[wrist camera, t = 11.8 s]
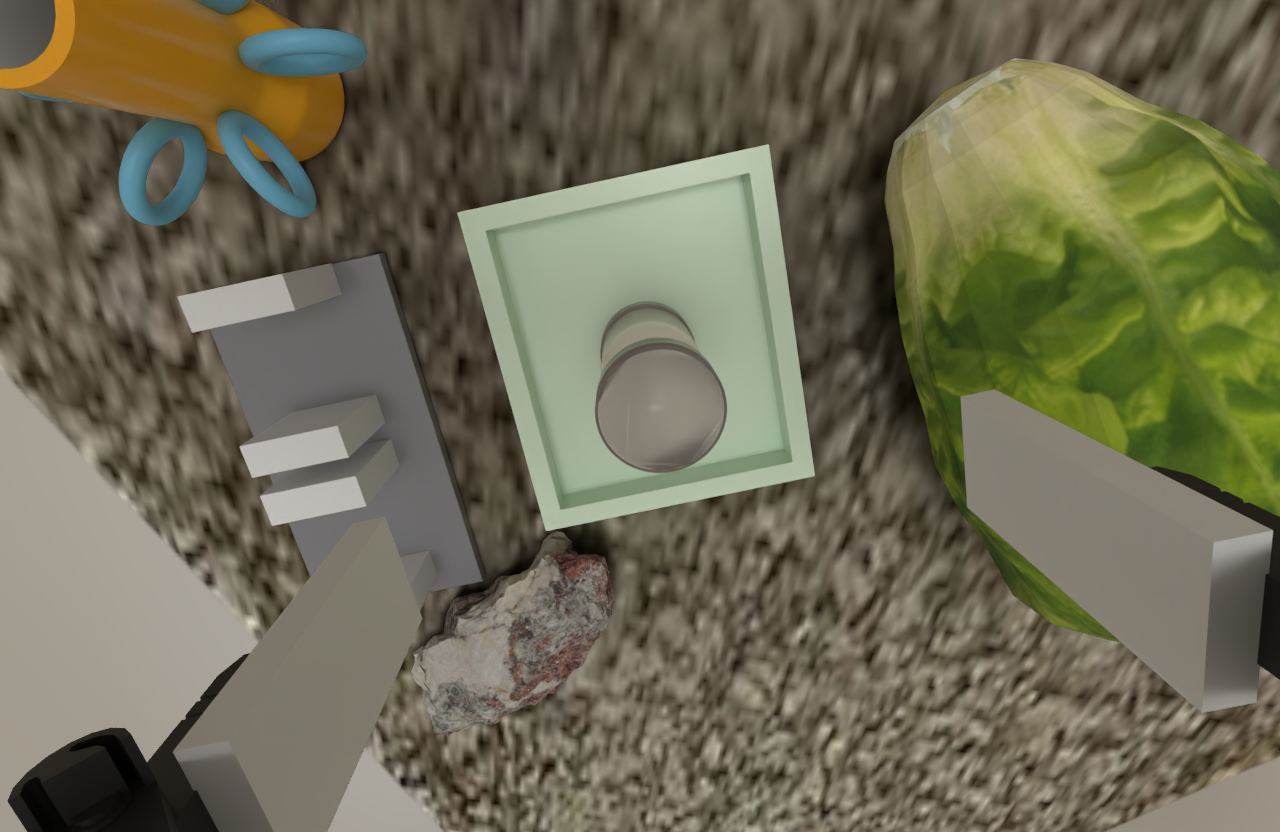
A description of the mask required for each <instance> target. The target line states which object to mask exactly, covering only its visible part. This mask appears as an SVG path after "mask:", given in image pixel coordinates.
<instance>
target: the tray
mask: <svg viewBox="0 0 1280 832" xmlns="http://www.w3.org/2000/svg"><path fill="white" fill-rule="evenodd" d="M457 214H458V217H459V221H460V224H461V228H462V232H463V235H464V239H465V242H466V246H467V249H468V253H469V257H470V260H471V264H472V267H473V271H474V275H475V278H476V282H477V285H478V289H479V293H480V296H481V300H482V303H483V307H484V311H485V314H486V318H487V321H488V325H489V329H490V332H491V336H492V339H493V343H494V347H495V350H496V354H497V357H498V361H499V364H500V368H501V372H502V375H503V379H504V382H505V386H506V390H507V393H508V397H509V400H510V404H511V408H512V411H513V415H514V418H515V422H516V426H517V429H518V433H519V436H520V440H521V444H522V447H523V451H524V454H525V458H526V461H527V465H528V469H529V472H530V476H531V479H532V483H533V487H534V490H535V494H536V497H537V501H538V505H539V508H540V512H541V515H542V519H543V523H544V526H545V530H546V531H550V530H555V529H559V528H564V527H569V526H574V525H579V524H584V523H589V522H594V521H598V520H603V519H608V518H613V517H618V516H623V515H628V514H633V513H637V512H642V511H647V510H652V509H657V508H662V507H667V506H672V505H676V504H681V503H686V502H691V501H696V500H701V499H706V498H711V497H715V496H720V495H725V494H730V493H735V492H740V491H745V490H750V489H754V488H759V487H764V486H769V485H774V484H779V483H784V482H788V481H793V480H798V479H803V478H808V477H813V476H815V473H814V466H813V459H812V452H811V444H810V437H809V430H808V423H807V416H806V409H805V401H804V394H803V387H802V380H801V373H800V366H799V358H798V351H797V344H796V337H795V330H794V322H793V315H792V308H791V301H790V294H789V287H788V279H787V272H786V265H785V258H784V251H783V244H782V236H781V229H780V222H779V215H778V208H777V200H776V193H775V186H774V179H773V172H772V165H771V157H770V150H769V144H768V145H763V146H758V147H754V148H749V149H745V150H740V151H736V152H731V153H727V154H722V155H717V156H713V157H708V158H704V159H699V160H695V161H690V162H685V163H681V164H676V165H672V166H667V167H663V168H658V169H654V170H649V171H644V172H640V173H635V174H631V175H626V176H622V177H617V178H613V179H608V180H603V181H599V182H594V183H590V184H585V185H581V186H576V187H572V188H567V189H562V190H558V191H553V192H549V193H544V194H540V195H535V196H531V197H526V198H521V199H517V200H512V201H508V202H503V203H499V204H494V205H490V206H485V207H480V208H476V209H471V210H467V211H462V212H458V213H457ZM643 301H651V302H657V303H661V304H664V305H666V306H668V307H670V308H672V309H673V310H675V311H676V312H677V313H678V314H679V315H680V316H681V317H682V318H683V319H684V321H685V322H686V324H687V325H688V327H689V329H690V331H691V332H692V335H693V337H694V340H695V343H696V345H697V347H698V349H699V350H700V352H701V354H702V355H703V356H704V357H705V358H706V359H707V360H708V362H709V363H710V364H711V366H712V368H713V369H714V371H715V373H716V374H717V376H718V378H719V379H720V381H721V383H722V386H723V388H724V391H725V395H726V401H727V416H726V422H725V426H724V429H723V432H722V434H721V436H720V438H719V440H718V441H717V443H716V444H715V446H714V447H713V448H712V449H711V451H710V452H709V453H708V454H707V455H706V456H705V457H703V458H702V459H701V460H699V461H698V462H696V463H695V464H693V465H691V466H689V467H687V468H684V469H682V470H678V471H674V472H668V473H651V472H645V471H641V470H638V469H635V468H633V467H631V466H629V465H627V464H625V463H623V462H622V461H620V460H619V459H618V458H617V457H616V456H614V455H613V454H612V453H611V451H610V450H609V449H608V448H607V447H606V445H605V444H604V442H603V440H602V438H601V436H600V434H599V431H598V428H597V425H596V419H595V403H596V393H597V386H598V382H599V379H600V376H601V356H600V351H601V341H602V336H603V332H604V330H605V327H606V326H607V324H608V322H609V321H610V319H611V318H612V317H613V316H614V315H615V314H616V313H617V312H618V311H620V310H621V309H622V308H624V307H626V306H628V305H630V304H633V303H637V302H643Z"/></svg>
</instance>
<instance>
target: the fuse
mask: <svg viewBox="0 0 1280 832" xmlns="http://www.w3.org/2000/svg"><path fill="white" fill-rule="evenodd" d="M600 356H601V376H600V379H599V382H598V386H597V393H596V403H595V419H596V425H597V428H598V431H599V434H600V436H601V438H602V440H603V442H604V444H605V445H606V447H607V448H608V449H609V450H610V451H611V453H612V454H613V455H614V456H616V457H617V458H618V459H619V460H620V461H622V462H623V463H625V464H627V465H629V466H631V467H633V468H635V469H638V470H641V471H645V472H651V473H668V472H674V471H678V470H682V469H684V468H687V467H689V466H691V465H693V464H695V463H696V462H698V461H699V460H701V459H702V458H703V457H705V456H706V455H707V454H708V453H709V452H710V451H711V449H712V448H713V447H714V446H715V444H716V443H717V441H718V440H719V438H720V436H721V434H722V432H723V429H724V426H725V422H726V416H727V401H726V395H725V391H724V388H723V386H722V383H721V381H720V379H719V378H718V376H717V374H716V373H715V371H714V369H713V368H712V366H711V364H710V363H709V362H708V360H707V359H706V358H705V357H704V356H703V355H702V354H701V352H700V350H699V349H698V347H697V345H696V343H695V340H694V337H693V335H692V332H691V331H690V329H689V327H688V325H687V324H686V322H685V321H684V319H683V318H682V317H681V316H680V315H679V314H678V313H677V312H676V311H675V310H673V309H672V308H670V307H668V306H666V305H664V304H661V303H657V302H651V301H643V302H637V303H633V304H630V305H628V306H626V307H624V308H622V309H621V310H620V311H618V312H617V313H616V314H615V315H614V316H613V317H612V318H611V319H610V321H609V322H608V324H607V326H606V327H605V330H604V332H603V336H602V341H601V351H600Z"/></svg>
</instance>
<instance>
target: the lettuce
mask: <svg viewBox="0 0 1280 832" xmlns="http://www.w3.org/2000/svg"><path fill="white" fill-rule="evenodd" d="M885 206H886V212H887V217H888V222H889V227H890V233H891V238H892V243H893V248H894V287H895V294H896V301H897V307H898V314H899V321H900V327H901V334H902V340H903V343H904V347H905V351H906V355H907V359H908V363H909V367H910V371H911V375H912V378H913V381H914V384H915V387H916V390H917V393H918V396H919V399H920V402H921V405H922V408H923V411H924V415H925V420H926V424H927V429H928V434H929V439H930V444H931V449H932V453H933V458H934V463H935V466H936V468H937V470H938V472H939V474H940V475H941V477H942V479H943V481H944V483H945V485H946V487H947V489H948V491H949V492H950V494H951V496H952V498H953V500H954V502H955V504H956V506H957V507H958V508H959V510H960V511H961V513H962V514H963V515H964V517H965V518H966V519H967V521H968V522H969V524H970V525H971V526H972V528H973V529H974V530H975V532H976V533H977V535H978V536H979V537H980V539H981V540H982V541H983V543H984V544H985V546H986V547H987V549H988V551H989V553H990V555H991V556H992V558H993V560H994V562H995V564H996V565H997V567H998V569H999V571H1000V572H1001V574H1002V576H1003V578H1004V580H1005V581H1006V583H1007V585H1008V587H1009V589H1010V590H1011V592H1012V594H1013V595H1014V596H1015V597H1017V598H1018V599H1019V600H1021V601H1022V602H1023V603H1025V604H1026V605H1027V606H1029V607H1030V608H1031V609H1033V610H1034V611H1035V612H1037V613H1038V614H1039V615H1041V616H1042V617H1043V618H1045V619H1046V620H1047V621H1049V622H1050V623H1051V624H1053V625H1056V626H1060V627H1064V628H1067V629H1071V630H1074V631H1078V632H1082V633H1085V634H1089V635H1093V636H1096V637H1100V638H1103V639H1107V640H1112V641H1117V642H1120V641H1119V640H1118V639H1117V638H1116V637H1115V636H1114V635H1112V634H1111V633H1110V632H1109V631H1108V630H1107V629H1106V628H1104V627H1103V626H1102V625H1101V624H1100V623H1099V622H1098V621H1096V620H1095V619H1094V618H1093V617H1092V616H1091V615H1090V614H1088V613H1087V612H1086V611H1085V610H1084V609H1083V608H1082V607H1080V606H1079V605H1078V604H1077V603H1076V602H1075V601H1074V600H1072V599H1071V598H1070V597H1069V596H1068V595H1067V594H1066V593H1064V592H1063V591H1062V590H1061V589H1060V588H1059V587H1058V586H1057V585H1055V584H1054V583H1053V582H1052V581H1051V580H1050V579H1049V578H1047V577H1046V576H1045V575H1044V574H1043V573H1042V572H1041V571H1039V570H1038V569H1037V568H1036V567H1035V566H1034V565H1033V564H1031V563H1030V562H1029V561H1028V560H1027V559H1026V558H1025V557H1023V556H1022V555H1021V554H1020V553H1019V552H1018V551H1017V550H1015V549H1014V548H1013V547H1012V546H1011V545H1010V544H1009V543H1007V542H1006V541H1005V540H1004V539H1003V538H1002V537H1001V536H999V535H998V534H997V533H996V532H995V531H994V530H993V529H991V528H990V527H989V526H988V525H987V524H986V523H985V522H983V521H982V520H981V519H980V518H979V517H978V516H977V515H975V514H974V513H973V512H972V511H971V510H970V509H969V508H967V496H966V479H965V463H964V446H963V430H962V413H961V396H966V395H971V394H976V393H980V392H985V391H990V390H997V391H999V392H1001V393H1003V394H1005V395H1007V396H1009V397H1011V398H1013V399H1015V400H1017V401H1019V402H1021V403H1023V404H1024V405H1026V406H1028V407H1030V408H1032V409H1034V410H1036V411H1038V412H1040V413H1042V414H1044V415H1046V416H1048V417H1050V418H1052V419H1054V420H1056V421H1058V422H1060V423H1062V424H1064V425H1066V426H1068V427H1070V428H1072V429H1074V430H1076V431H1078V432H1080V433H1082V434H1084V435H1086V436H1088V437H1090V438H1092V439H1094V440H1096V441H1098V442H1100V443H1102V444H1103V445H1105V446H1107V447H1109V448H1111V449H1113V450H1115V451H1117V452H1119V453H1121V454H1123V455H1125V456H1127V457H1129V458H1131V459H1133V460H1135V461H1137V462H1139V463H1141V464H1143V465H1145V466H1147V467H1149V468H1150V467H1155V466H1159V467H1163V468H1167V469H1171V470H1175V471H1179V472H1183V473H1187V474H1191V475H1194V476H1196V477H1198V478H1200V479H1202V480H1204V481H1206V482H1208V483H1210V484H1212V485H1214V486H1216V487H1219V488H1220V490H1221V492H1223V491H1227V492H1229V493H1231V494H1233V495H1235V496H1237V497H1239V498H1241V499H1243V501H1244V503H1247V502H1250V503H1252V504H1254V505H1256V506H1258V507H1260V508H1262V509H1264V510H1266V511H1268V512H1270V513H1273V514H1275V515H1277V516H1279V517H1280V172H1279V171H1277V170H1276V169H1275V168H1274V167H1272V166H1271V165H1270V164H1268V163H1267V162H1266V161H1264V160H1263V159H1262V158H1261V157H1259V156H1258V155H1257V154H1255V153H1254V152H1253V151H1252V150H1250V149H1248V148H1247V147H1245V146H1243V145H1241V144H1240V143H1238V142H1236V141H1235V140H1233V139H1231V138H1229V137H1228V136H1226V135H1224V134H1223V133H1221V132H1219V131H1217V130H1216V129H1214V128H1212V127H1211V126H1209V125H1207V124H1206V123H1204V122H1202V121H1200V120H1197V119H1194V118H1191V117H1188V116H1185V115H1182V114H1179V113H1176V112H1173V111H1170V110H1167V109H1164V108H1161V107H1158V106H1155V105H1152V104H1149V103H1146V102H1143V101H1141V100H1139V99H1137V98H1136V97H1134V96H1132V95H1130V94H1128V93H1126V92H1124V91H1122V90H1120V89H1119V88H1117V87H1115V86H1113V85H1111V84H1109V83H1107V82H1105V81H1103V80H1102V79H1100V78H1098V77H1096V76H1094V75H1092V74H1090V73H1088V72H1086V71H1083V70H1079V69H1075V68H1072V67H1068V66H1065V65H1061V64H1057V63H1054V62H1045V61H1036V60H1026V59H1016V58H1015V59H1012V60H1010V61H1008V62H1006V63H1004V64H1002V65H999V66H997V67H995V68H993V69H991V70H989V71H987V72H984V73H982V74H980V75H978V76H976V77H974V78H972V79H969V80H967V81H965V82H963V83H961V84H959V85H957V86H954V87H952V88H950V89H948V90H946V91H944V92H943V93H942V94H941V95H940V96H939V97H938V98H937V99H936V100H935V101H934V102H933V103H932V104H931V105H930V106H929V107H928V108H927V109H926V110H925V111H924V112H923V113H922V114H921V115H920V116H919V117H918V118H917V119H916V120H915V121H914V122H913V123H912V124H911V125H910V126H909V127H908V128H907V129H906V130H905V131H904V132H903V133H902V134H901V135H900V136H899V137H898V138H897V139H896V140H895V141H894V145H893V149H892V153H891V158H890V162H889V166H888V170H887V177H886V189H885Z"/></svg>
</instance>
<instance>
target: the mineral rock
mask: <svg viewBox="0 0 1280 832" xmlns="http://www.w3.org/2000/svg"><path fill="white" fill-rule="evenodd" d="M609 573H610V572H609V569H608V566H607V563H606V560H605V558H604V556H598V555H597V554H584V555H579V554H578V553H577V552H576V551H575V550H574V549H573V545H572V541H571V540H569V539H568V538H567V537H566V536H565V533H562V532H558V531H554V532H553V533H551V534H550V535H548V536H547V537H546V538H545V539H544V541H543V544H542V546H541V549H540V551H539V552H538V554H537V555H536V556H535V558H534V560H533V562H532V563H531V565H530V566H529V568H528V570H525V571H523V572H521V573H520V574H515V575H513V576H501V577H498V578H497V579H495V580H493V582H492V584H491V585H490V586H489V588H488V589H486V590H485V591H483V592H480V593H471V594H469V595H464V596H461V597H456V598H455V599H453V601H452V603H451V606H450V608H449V609H448V612H447V614H446V616H445V626H444V632H443V633H442V634H440V635H437V636H433V637H432V638H431V639H430V640H429V642H428V643H427V645H424V646H422V647H421V648H419V649H418V650H417V651H415V652H414V653H413V655H414V657H415V663H414V666H413V669H412V672H411V673H413V677H414V680H415V681H416V683H417V684H418V685H419V686H421V687H422V688H423V690H424V695H423V702H424V703H425V704H426V705H427V708H428V709H427V711H428V712H429V713H430V715H431V720H432V722H433V726H434V733H435V734H437V735H439V734H441V733H444V734H446V735H448V736H449V735H450V734H451V733H453V732H458V731H461V730H465V729H467V728H469V727H470V726H473V725H475V724H477V723H480V722H481V723H483V724H496V723H497V722H499V721H500V719H501V717H502V716H504V715H505V714H508V713H511V712H513V711H516V710H518V709H520V708H521V707H523V706H524V705H528V704H532V706H533V705H536V704H537V703H538V702H539V701H540V700H541V699H542V698H543V697H545V696H546V695H547V694H549V693H555V691H556V690H557V688H558V685H559V684H560V683H562V682H564V681H566V680H567V678H568V676H569V675H570V674H571V673H572V671H573V670H574V669H577V668H579V667H580V666H582V665H583V664H584V661H585V659H586V656H587V654H588V651H589V649H590V648H591V646H592V645H593V644H594V642H595V640H596V639H597V638H598V637H599V636H600V635H601V634H602V633H603V631H604V629H605V628H606V627H607V625H608V623H609V620H610V617H611V615H612V613H611V612H612V609H613V607H614V602H615V596H614V593H613V590H612V587H611V585H612V582H611V579H610V575H609Z"/></svg>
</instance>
